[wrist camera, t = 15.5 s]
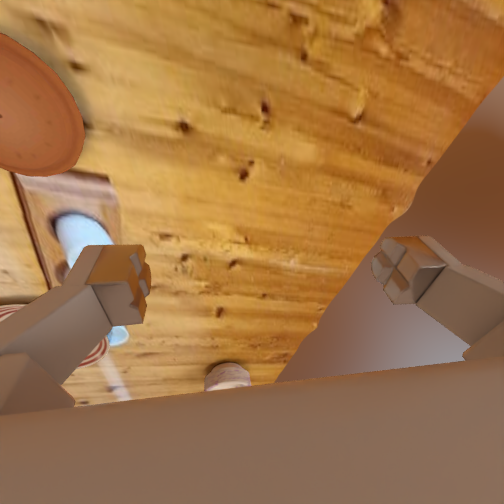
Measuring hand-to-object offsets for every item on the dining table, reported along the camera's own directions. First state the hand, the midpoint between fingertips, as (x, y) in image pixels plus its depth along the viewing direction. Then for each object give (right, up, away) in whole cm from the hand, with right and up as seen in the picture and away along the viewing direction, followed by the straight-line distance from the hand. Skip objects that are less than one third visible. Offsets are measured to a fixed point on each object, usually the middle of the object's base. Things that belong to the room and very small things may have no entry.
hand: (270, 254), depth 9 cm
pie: (-29, +19, +23) cm, 42 cm away
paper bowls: (-9, -40, +78) cm, 89 cm away
